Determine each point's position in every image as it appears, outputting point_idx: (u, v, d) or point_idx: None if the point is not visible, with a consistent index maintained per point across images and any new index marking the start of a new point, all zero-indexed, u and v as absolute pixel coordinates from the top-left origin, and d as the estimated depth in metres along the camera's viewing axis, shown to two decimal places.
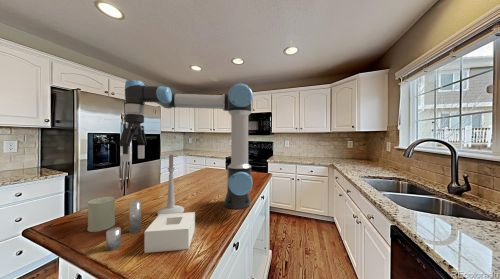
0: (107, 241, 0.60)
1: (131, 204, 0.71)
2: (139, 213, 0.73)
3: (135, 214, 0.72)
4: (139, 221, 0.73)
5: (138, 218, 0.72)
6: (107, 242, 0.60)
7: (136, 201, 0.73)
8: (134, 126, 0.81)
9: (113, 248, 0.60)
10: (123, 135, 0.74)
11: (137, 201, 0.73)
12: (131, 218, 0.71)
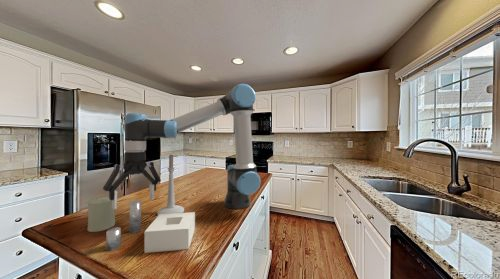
0: (107, 241, 0.60)
1: (131, 204, 0.71)
2: (139, 213, 0.73)
3: (135, 214, 0.72)
4: (139, 221, 0.73)
5: (138, 218, 0.72)
6: (107, 242, 0.60)
7: (136, 201, 0.73)
8: (129, 166, 0.70)
9: (113, 248, 0.60)
10: (109, 179, 0.67)
11: (137, 201, 0.73)
12: (131, 218, 0.71)
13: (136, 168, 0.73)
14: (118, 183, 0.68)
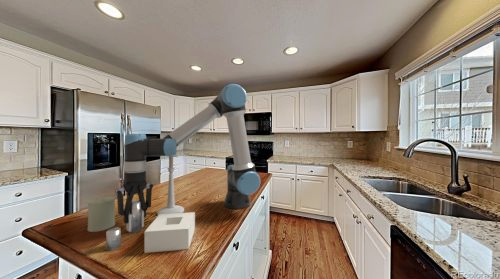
0: (107, 241, 0.60)
1: (131, 204, 0.71)
2: (139, 213, 0.73)
3: (136, 214, 0.72)
4: (139, 221, 0.73)
5: (138, 218, 0.72)
6: (107, 242, 0.60)
7: (136, 201, 0.73)
8: (129, 186, 0.70)
9: (113, 248, 0.60)
10: (118, 204, 0.69)
11: (137, 201, 0.73)
12: (131, 218, 0.71)
13: (136, 188, 0.73)
14: (128, 206, 0.70)
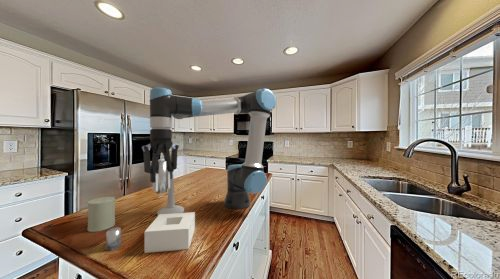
0: (107, 241, 0.60)
1: None
2: (165, 173, 0.69)
3: (162, 173, 0.67)
4: (165, 182, 0.69)
5: (164, 178, 0.68)
6: (107, 242, 0.60)
7: (162, 161, 0.69)
8: (155, 143, 0.66)
9: (113, 248, 0.60)
10: (144, 161, 0.65)
11: (163, 161, 0.69)
12: (158, 177, 0.67)
13: (162, 146, 0.68)
14: (155, 164, 0.66)
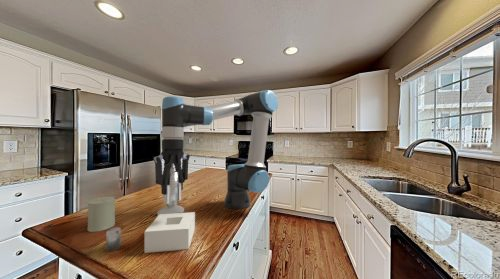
0: (107, 241, 0.60)
1: (169, 174, 0.65)
2: (177, 184, 0.66)
3: (174, 185, 0.65)
4: (177, 193, 0.66)
5: (176, 190, 0.66)
6: (107, 242, 0.60)
7: (173, 171, 0.67)
8: (167, 154, 0.64)
9: (113, 248, 0.60)
10: (156, 173, 0.62)
11: (174, 171, 0.67)
12: None
13: (174, 157, 0.66)
14: (167, 176, 0.64)
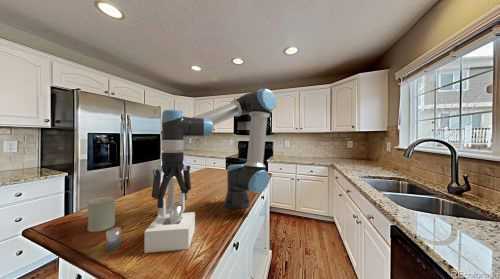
0: (107, 241, 0.60)
1: (173, 208, 0.66)
2: (179, 219, 0.67)
3: (176, 219, 0.66)
4: None
5: None
6: (107, 242, 0.60)
7: (177, 205, 0.68)
8: (167, 167, 0.64)
9: (113, 248, 0.60)
10: (153, 186, 0.62)
11: (178, 206, 0.68)
12: (171, 224, 0.66)
13: (174, 170, 0.66)
14: (164, 189, 0.63)
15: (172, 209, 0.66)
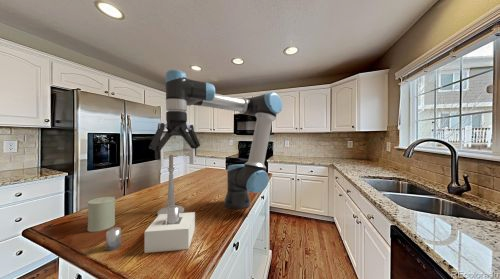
0: (107, 241, 0.60)
1: (170, 210, 0.65)
2: (177, 220, 0.67)
3: (174, 221, 0.65)
4: None
5: None
6: (107, 242, 0.60)
7: (174, 207, 0.67)
8: (172, 126, 0.67)
9: (113, 248, 0.60)
10: (154, 137, 0.63)
11: (175, 207, 0.67)
12: None
13: (178, 129, 0.69)
14: (163, 142, 0.64)
15: (169, 211, 0.65)
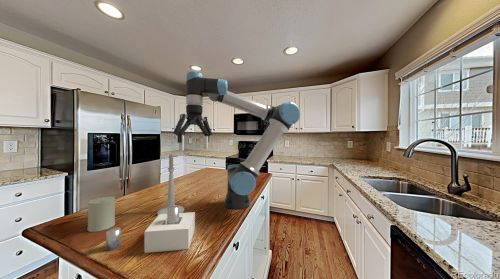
0: (107, 241, 0.60)
1: (170, 210, 0.65)
2: (177, 220, 0.67)
3: (174, 221, 0.65)
4: None
5: None
6: (107, 242, 0.60)
7: (174, 207, 0.67)
8: (191, 116, 0.83)
9: (113, 248, 0.60)
10: (177, 125, 0.79)
11: (175, 207, 0.67)
12: None
13: (195, 119, 0.85)
14: (184, 129, 0.80)
15: (169, 211, 0.65)
